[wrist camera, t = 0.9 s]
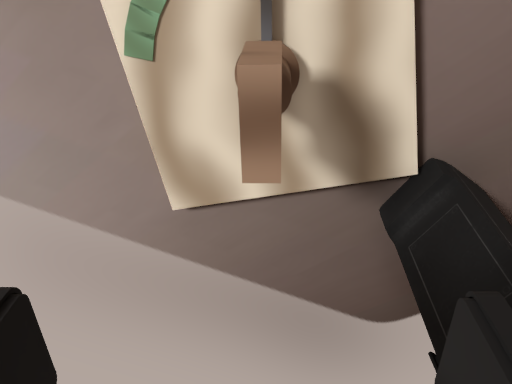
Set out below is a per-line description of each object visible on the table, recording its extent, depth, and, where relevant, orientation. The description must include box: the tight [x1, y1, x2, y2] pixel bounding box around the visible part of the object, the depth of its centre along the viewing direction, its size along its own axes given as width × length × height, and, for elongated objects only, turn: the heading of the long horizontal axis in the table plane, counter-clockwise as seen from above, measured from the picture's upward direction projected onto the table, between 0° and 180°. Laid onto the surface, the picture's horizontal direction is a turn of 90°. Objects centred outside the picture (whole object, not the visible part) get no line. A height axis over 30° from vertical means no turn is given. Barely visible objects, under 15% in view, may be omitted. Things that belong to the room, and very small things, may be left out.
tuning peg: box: [235, 0, 300, 183], centre depth 24 cm, size 12×4×11 cm, turn 2°
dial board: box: [101, 0, 418, 210], centre depth 31 cm, size 20×20×2 cm
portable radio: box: [379, 158, 512, 373], centre depth 26 cm, size 8×6×25 cm
